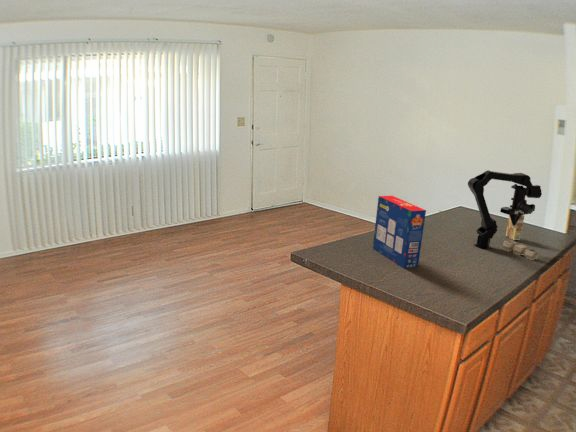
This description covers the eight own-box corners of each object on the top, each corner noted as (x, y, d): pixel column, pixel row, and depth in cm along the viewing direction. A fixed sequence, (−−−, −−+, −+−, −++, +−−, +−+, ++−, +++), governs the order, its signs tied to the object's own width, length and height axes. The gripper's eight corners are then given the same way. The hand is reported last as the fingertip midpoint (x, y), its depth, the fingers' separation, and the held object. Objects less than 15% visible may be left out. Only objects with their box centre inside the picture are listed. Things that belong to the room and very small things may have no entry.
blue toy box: (417, 267, 242) (426, 210, 234) (403, 268, 239) (411, 211, 231) (385, 247, 267) (392, 195, 259) (372, 248, 264) (378, 196, 256)
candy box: (520, 241, 292) (525, 215, 288) (513, 241, 292) (518, 215, 288) (511, 236, 301) (516, 211, 297) (504, 236, 300) (509, 211, 296)
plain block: (519, 256, 267) (521, 248, 266) (512, 253, 271) (514, 245, 270) (525, 255, 269) (527, 247, 268) (518, 252, 273) (520, 244, 272)
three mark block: (531, 260, 261) (533, 252, 260) (523, 257, 265) (525, 249, 264) (537, 259, 263) (539, 251, 262) (529, 256, 267) (531, 248, 266)
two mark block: (509, 251, 273) (510, 243, 272) (502, 248, 277) (503, 240, 276) (514, 250, 275) (516, 242, 274) (508, 248, 279) (509, 240, 278)
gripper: (519, 201, 260) (514, 231, 264) (544, 199, 268) (538, 228, 273) (502, 196, 270) (497, 224, 274) (526, 194, 278) (521, 222, 282)
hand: (513, 225), depth 275 cm, fingers closed
